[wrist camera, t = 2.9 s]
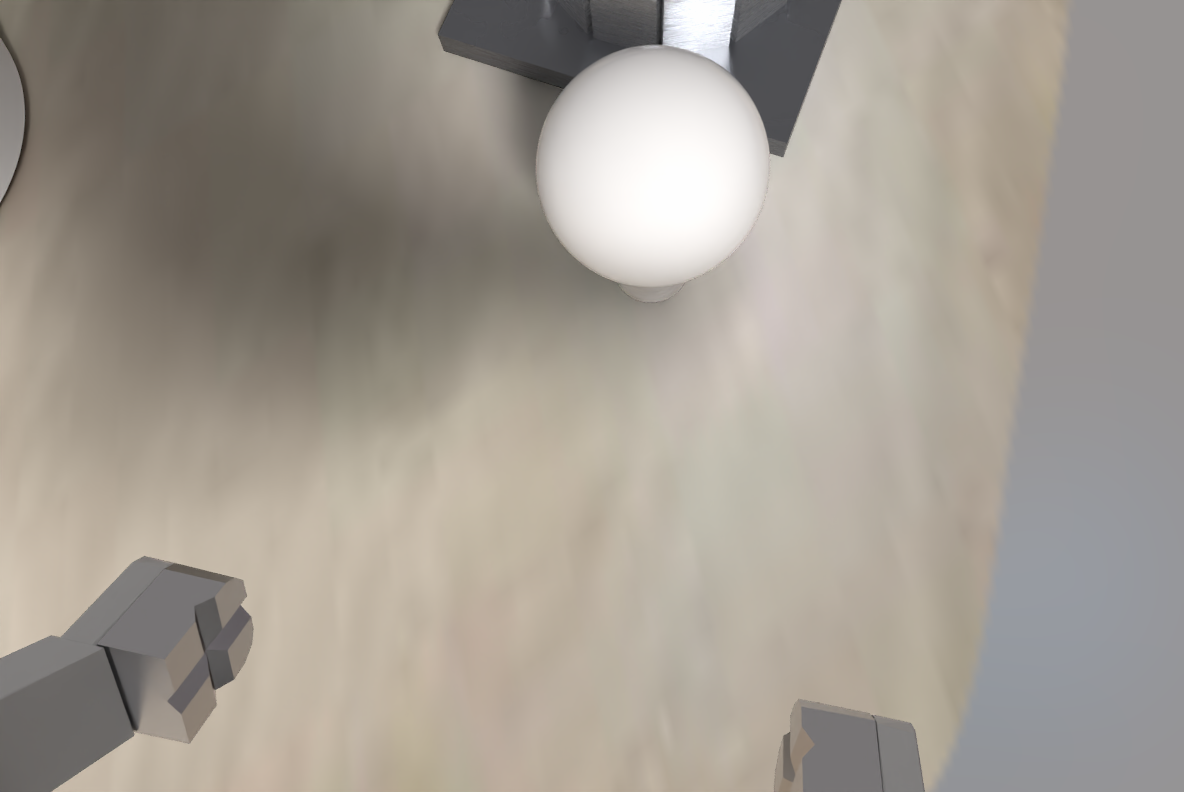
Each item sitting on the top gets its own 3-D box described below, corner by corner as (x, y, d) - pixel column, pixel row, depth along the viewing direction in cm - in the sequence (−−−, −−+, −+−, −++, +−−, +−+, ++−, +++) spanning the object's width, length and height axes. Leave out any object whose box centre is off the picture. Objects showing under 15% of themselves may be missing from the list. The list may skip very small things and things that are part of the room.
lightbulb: (728, 185, 31) (770, -25, 20) (748, 349, 30) (804, 215, 19) (559, 202, 31) (512, 4, 21) (570, 365, 30) (527, 243, 19)
